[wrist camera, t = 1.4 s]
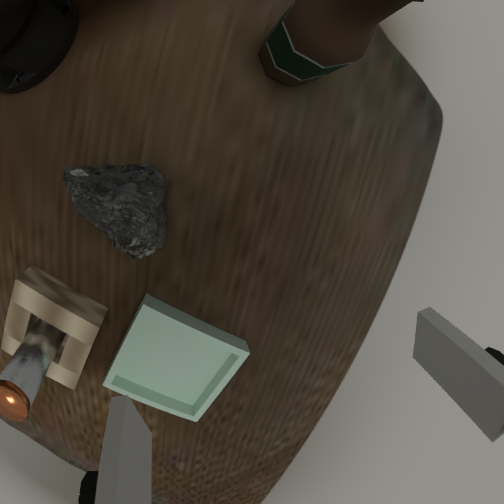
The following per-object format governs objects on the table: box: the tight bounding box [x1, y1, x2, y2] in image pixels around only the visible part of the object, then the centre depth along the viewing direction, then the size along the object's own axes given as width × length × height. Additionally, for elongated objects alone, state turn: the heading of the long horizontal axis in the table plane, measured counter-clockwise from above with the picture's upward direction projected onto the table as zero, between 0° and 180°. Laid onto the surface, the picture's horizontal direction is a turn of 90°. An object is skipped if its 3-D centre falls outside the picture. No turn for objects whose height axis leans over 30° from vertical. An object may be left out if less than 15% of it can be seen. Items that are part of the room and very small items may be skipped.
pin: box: [0, 318, 67, 422], centre depth 29 cm, size 4×4×16 cm
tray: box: [103, 293, 250, 422], centre depth 41 cm, size 15×15×3 cm
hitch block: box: [1, 264, 108, 390], centre depth 35 cm, size 12×12×5 cm
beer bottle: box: [259, 0, 424, 86], centre depth 22 cm, size 8×8×24 cm
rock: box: [63, 163, 168, 259], centre depth 32 cm, size 12×10×10 cm
